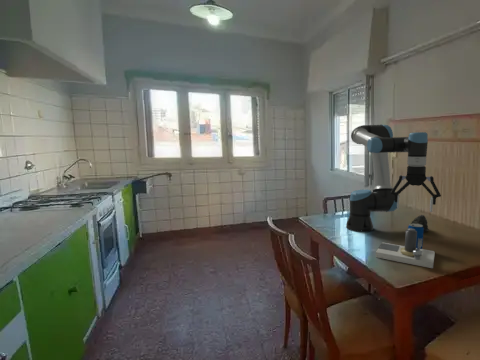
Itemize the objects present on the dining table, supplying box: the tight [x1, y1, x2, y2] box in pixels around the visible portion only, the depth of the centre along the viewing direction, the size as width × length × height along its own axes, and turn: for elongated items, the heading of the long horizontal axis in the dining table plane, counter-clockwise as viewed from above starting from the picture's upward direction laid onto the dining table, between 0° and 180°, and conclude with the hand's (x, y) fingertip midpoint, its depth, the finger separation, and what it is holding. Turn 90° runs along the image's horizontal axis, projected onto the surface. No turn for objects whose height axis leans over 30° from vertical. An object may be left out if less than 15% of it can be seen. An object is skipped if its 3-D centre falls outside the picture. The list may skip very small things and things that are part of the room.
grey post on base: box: [400, 227, 417, 257], centre depth 130 cm, size 8×8×14 cm
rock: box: [411, 214, 430, 233], centre depth 170 cm, size 12×10×10 cm
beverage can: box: [407, 222, 424, 249], centre depth 143 cm, size 6×6×12 cm
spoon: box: [413, 238, 423, 256], centre depth 130 cm, size 3×16×3 cm, turn 145°
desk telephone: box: [375, 242, 436, 269], centre depth 133 cm, size 22×15×4 cm
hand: (413, 210), depth 139 cm, fingers open, 13 cm apart
